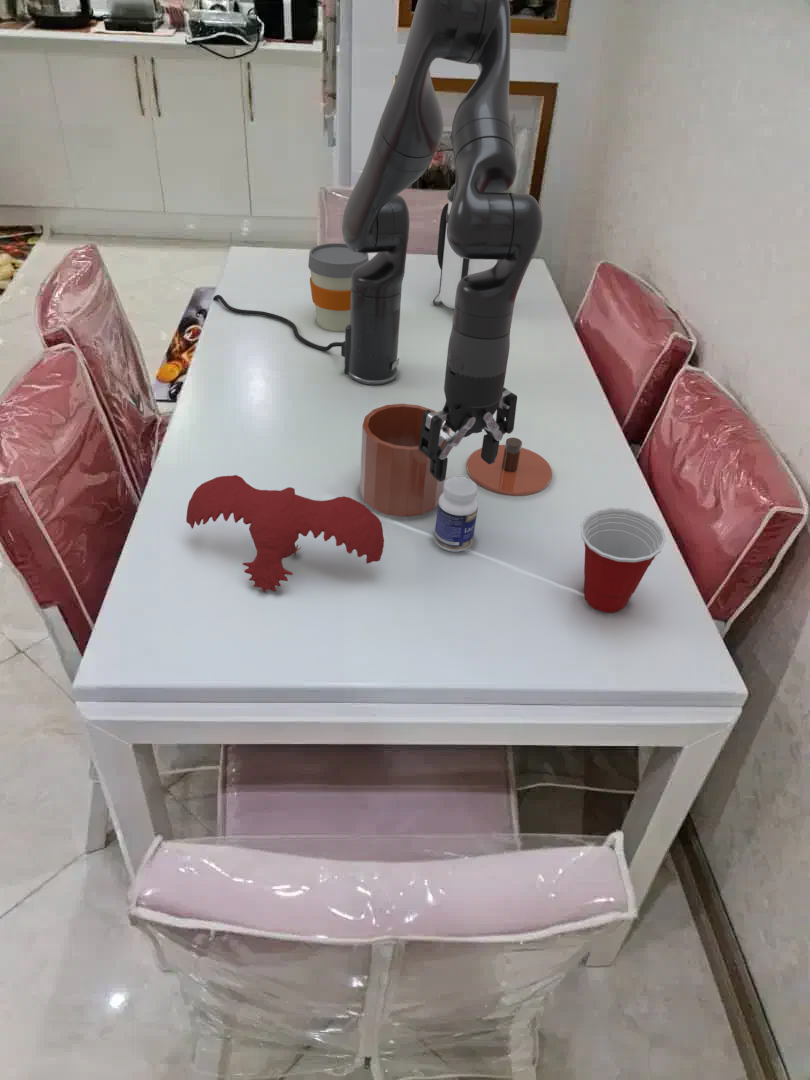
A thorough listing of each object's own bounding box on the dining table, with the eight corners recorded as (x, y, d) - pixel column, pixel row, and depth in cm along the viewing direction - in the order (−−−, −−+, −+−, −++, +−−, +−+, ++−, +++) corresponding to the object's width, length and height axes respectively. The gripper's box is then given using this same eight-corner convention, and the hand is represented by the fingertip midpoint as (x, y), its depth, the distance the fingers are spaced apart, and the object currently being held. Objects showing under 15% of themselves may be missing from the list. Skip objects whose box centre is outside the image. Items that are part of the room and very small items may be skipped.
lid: (452, 480, 131) (456, 447, 127) (487, 442, 141) (491, 410, 137) (532, 508, 126) (539, 476, 122) (562, 467, 136) (569, 435, 132)
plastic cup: (555, 572, 115) (572, 505, 107) (629, 572, 116) (650, 505, 108) (574, 627, 106) (593, 558, 99) (653, 626, 108) (678, 557, 100)
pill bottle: (469, 556, 116) (478, 500, 110) (430, 549, 117) (436, 493, 111) (474, 532, 121) (483, 477, 115) (437, 526, 121) (443, 470, 115)
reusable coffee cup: (378, 321, 177) (381, 252, 167) (344, 340, 168) (346, 269, 159) (331, 305, 182) (332, 238, 172) (296, 324, 173) (295, 254, 164)
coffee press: (505, 301, 190) (525, 165, 171) (488, 327, 178) (507, 184, 159) (434, 288, 194) (447, 153, 175) (413, 312, 182) (424, 170, 163)
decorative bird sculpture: (373, 614, 112) (395, 508, 113) (362, 614, 103) (386, 499, 104) (182, 574, 116) (205, 472, 117) (155, 571, 107) (180, 460, 108)
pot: (345, 501, 125) (346, 431, 117) (386, 462, 134) (390, 395, 126) (418, 529, 120) (425, 459, 113) (455, 487, 129) (464, 420, 122)
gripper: (501, 338, 106) (486, 443, 117) (413, 360, 100) (404, 470, 110) (539, 361, 102) (520, 468, 112) (449, 386, 95) (437, 498, 105)
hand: (463, 469), depth 111 cm, fingers open, 8 cm apart
